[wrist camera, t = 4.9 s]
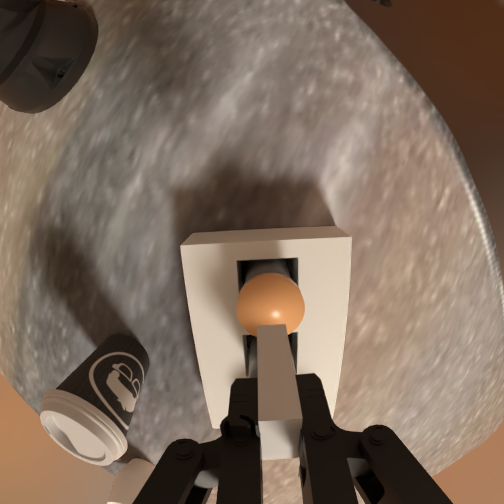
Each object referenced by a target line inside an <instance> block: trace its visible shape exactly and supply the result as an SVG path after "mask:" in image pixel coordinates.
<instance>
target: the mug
mask: <svg viewBox="0 0 504 504" xmlns="http://www.w3.org/2000/svg"><path fill="white" fill-rule="evenodd" d="M154 468H155V466H154V465H153V464H152V463H150V462H148V461H146V460H143V459H138V458H135V459H132V460H131V461H130V462H129V463H128V464H127V465H125V466H124V467H123V468H122V469H121V470H120V471H119V472H118V473H117V475H116V477H115V479H114V482H113V485H112V488H111V491H110V495H109V498H108V501H107V504H132V503H133V502H134V500H135V498H136V497H137V495H138V494H139V492H140V491H141V489H142V487H143V486H144V484H145V483H146V481H147V479H148V478H149V476H150V475H151V473H152V471H153V470H154Z"/></svg>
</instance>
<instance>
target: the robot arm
mask: <svg viewBox="0 0 504 504" xmlns="http://www.w3.org/2000/svg"><path fill="white" fill-rule="evenodd" d="M97 35H98V27H97V22H96V20H95V18H94V16H93V15H92V14H91V13H90V12H89V11H88V10H86V9H85V8H84V7H82V6H81V5H79V4H75V3H66V2H63V1H58V0H0V100H1V101H2V102H3V103H5V104H6V105H8V106H9V107H10V108H11V109H13V110H15V111H18V112H24V113H31V114H33V113H39V112H42V111H44V110H46V109H48V108H50V107H52V106H53V105H55V104H56V103H57V102H59V101H60V100H61V99H62V98H63V97H64V96H65V95H66V94H67V93H68V92H69V91H70V90H71V89H72V87H73V86H74V85H75V84H76V82H77V81H78V80H79V78H80V77H81V75H82V74H83V72H84V71H85V69H86V67H87V65H88V63H89V61H90V59H91V57H92V54H93V52H94V49H95V46H96V41H97ZM257 359H258V378H236V379H235V381H234V382H233V383H232V385H231V388H230V398H229V408H228V416H226V417H225V418H224V419H223V420H222V421H221V424H220V429H221V434H222V436H221V437H220V438H218V439H216V440H214V441H210V442H206V443H201V444H199V443H198V442H196V441H194V440H192V439H179V440H176V441H174V442H172V443H171V444H170V445H169V446H168V447H167V449H166V450H165V452H164V454H163V455H162V457H161V459H160V460H159V462H158V463H157V465H156V467H155V468H154V470H153V471H152V473H151V475H150V476H149V478H148V479H147V481H146V483H145V484H144V486H143V487H142V489H141V491H140V492H139V494H138V495H137V497H136V498H135V500H134V502H133V503H132V504H206V502H207V500H208V498H209V495H210V493H211V491H212V489H213V487H216V486H218V491H217V502H216V504H263V477H262V460H271V459H286V458H298V457H299V458H300V467H299V474H298V477H299V476H300V479H301V488H302V496H303V504H358V500H357V496H356V492H355V488H354V486H355V487H356V489H357V491H358V492H359V494H360V496H361V497H362V499H363V500H364V502H365V504H453V503H452V502H451V500H450V499H449V498H448V497H447V496H446V494H445V493H444V492H443V491H442V490H441V488H440V487H439V486H438V485H437V484H436V482H435V481H434V480H433V479H432V478H431V476H430V475H429V474H428V473H427V472H426V470H425V469H424V468H423V467H422V465H421V464H420V463H419V462H418V461H417V459H416V458H415V457H414V456H413V455H412V453H411V452H410V451H409V450H408V449H407V447H406V446H405V445H404V444H403V443H402V441H401V440H400V439H399V438H398V436H397V435H396V434H395V433H394V432H393V430H391V429H390V428H389V427H387V426H384V425H372V426H369V427H368V428H366V429H364V431H363V432H352V431H346V430H343V429H340V428H339V427H338V426H336V425H335V423H334V422H333V420H332V417H331V413H330V410H329V406H328V402H327V399H326V396H325V392H324V389H323V385H322V381H321V379H320V378H319V377H318V376H317V375H316V374H315V373H308V374H297V375H295V372H294V366H293V361H292V355H291V350H290V345H289V339H288V334H287V329H286V324H279V325H261V326H257Z"/></svg>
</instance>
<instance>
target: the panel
mask: <svg viewBox="0 0 504 504" xmlns="http://www.w3.org/2000/svg"><path fill="white" fill-rule="evenodd" d="M351 241H352V237H351V236H350V235H348V234H347V233H345V232H344V231H343V230H341V229H340V228H338V227H337V226H318V227H294V228H272V229H252V230H234V231H217V232H200V233H192V234H191V235H190V236H189V237H188V238H187V239H186V240H185V241H184V242H183V243H182V244H181V245H180V248H181V257H182V264H183V272H184V279H185V286H186V293H187V300H188V306H189V313H190V319H191V325H192V331H193V336H194V342H195V347H196V353H197V358H198V363H199V368H200V373H201V378H202V383H203V388H204V392H205V397H206V401H207V406H208V410H209V415H210V419H211V423H212V427H213V428H220V424H221V421H222V420H223V419H224V418H225V417H226V416H228V408H229V398H230V388H231V385H232V383H233V382H234V381H235V379H236V378H249V357H250V349H247V337H246V335H251V334H250V333H248V332H247V331H246V330H245V329H244V328H243V327H242V326H241V324H240V322H239V320H238V317H237V312H236V308H237V301H238V295H239V292H240V290H241V289H242V287H243V284H242V270H241V260H258V259H278V258H292V280H293V281H294V282H295V283H296V284H297V286H298V287H299V289H300V291H301V294H302V297H303V299H304V303H305V313H304V317H303V319H302V321H301V323H300V325H299V326H298V327H297V328H296V329H295V330H294V331H293V332H292V347H291V349H292V355H293V360H294V366H295V371H296V375H297V374H308V373H315V374H316V375H317V376H318V377H319V378H320V379H321V381H322V385H323V389H324V392H325V396H326V399H327V402H328V406H329V410H330V413H331V417H332V419H333V414H334V408H335V403H336V397H337V391H338V385H339V378H340V372H341V364H342V357H343V349H344V341H345V332H346V322H347V311H348V299H349V285H350V267H351Z"/></svg>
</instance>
